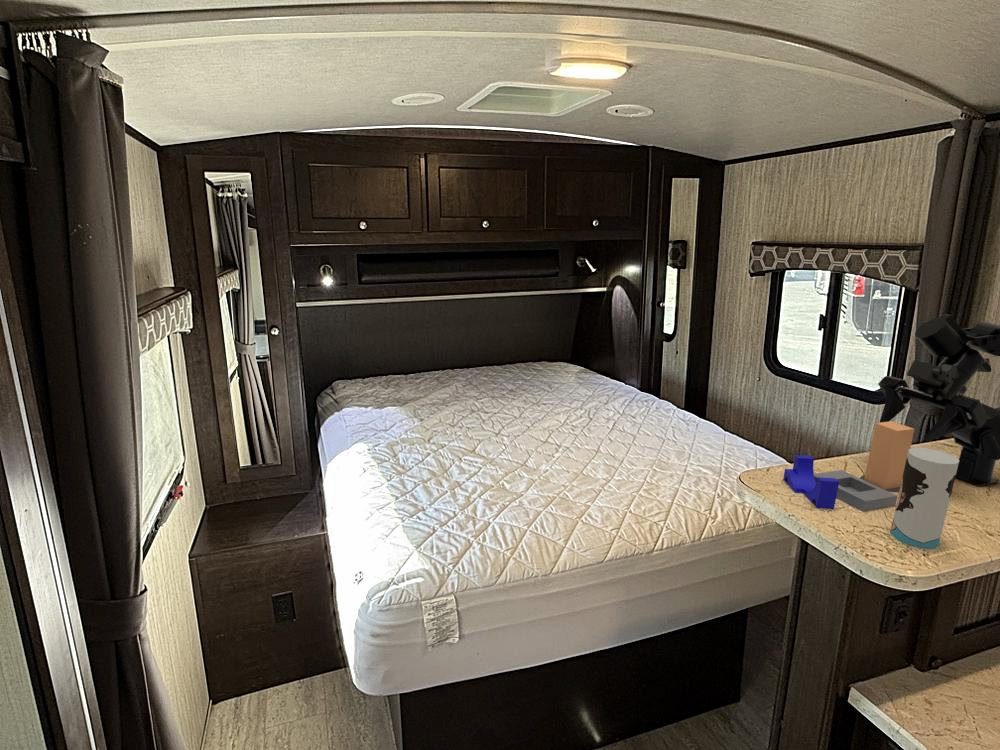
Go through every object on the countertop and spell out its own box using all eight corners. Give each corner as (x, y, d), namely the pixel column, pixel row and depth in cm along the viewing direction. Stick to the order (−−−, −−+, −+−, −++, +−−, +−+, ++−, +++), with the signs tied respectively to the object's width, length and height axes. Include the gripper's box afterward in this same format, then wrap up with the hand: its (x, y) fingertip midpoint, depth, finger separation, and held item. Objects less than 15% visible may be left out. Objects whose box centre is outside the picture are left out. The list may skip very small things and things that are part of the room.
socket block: (839, 481, 123) (841, 469, 122) (894, 508, 112) (897, 495, 111) (808, 486, 120) (811, 474, 120) (862, 514, 109) (865, 501, 109)
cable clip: (782, 482, 122) (787, 454, 120) (805, 484, 122) (810, 456, 120) (807, 510, 110) (813, 480, 109) (833, 512, 110) (839, 481, 108)
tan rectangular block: (880, 477, 124) (892, 421, 121) (901, 486, 120) (914, 428, 117) (864, 479, 123) (875, 423, 120) (885, 489, 119) (897, 430, 116)
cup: (936, 537, 102) (956, 453, 98) (940, 555, 96) (962, 467, 92) (889, 526, 105) (907, 444, 101) (890, 543, 100) (909, 457, 96)
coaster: (878, 475, 127) (879, 472, 127) (916, 491, 119) (916, 488, 119) (850, 479, 124) (850, 476, 124) (886, 496, 117) (887, 493, 117)
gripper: (893, 337, 125) (844, 393, 124) (992, 357, 109) (936, 422, 108) (912, 372, 130) (865, 425, 129) (1009, 396, 113) (956, 458, 112)
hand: (902, 431), depth 119 cm, fingers open, 9 cm apart
